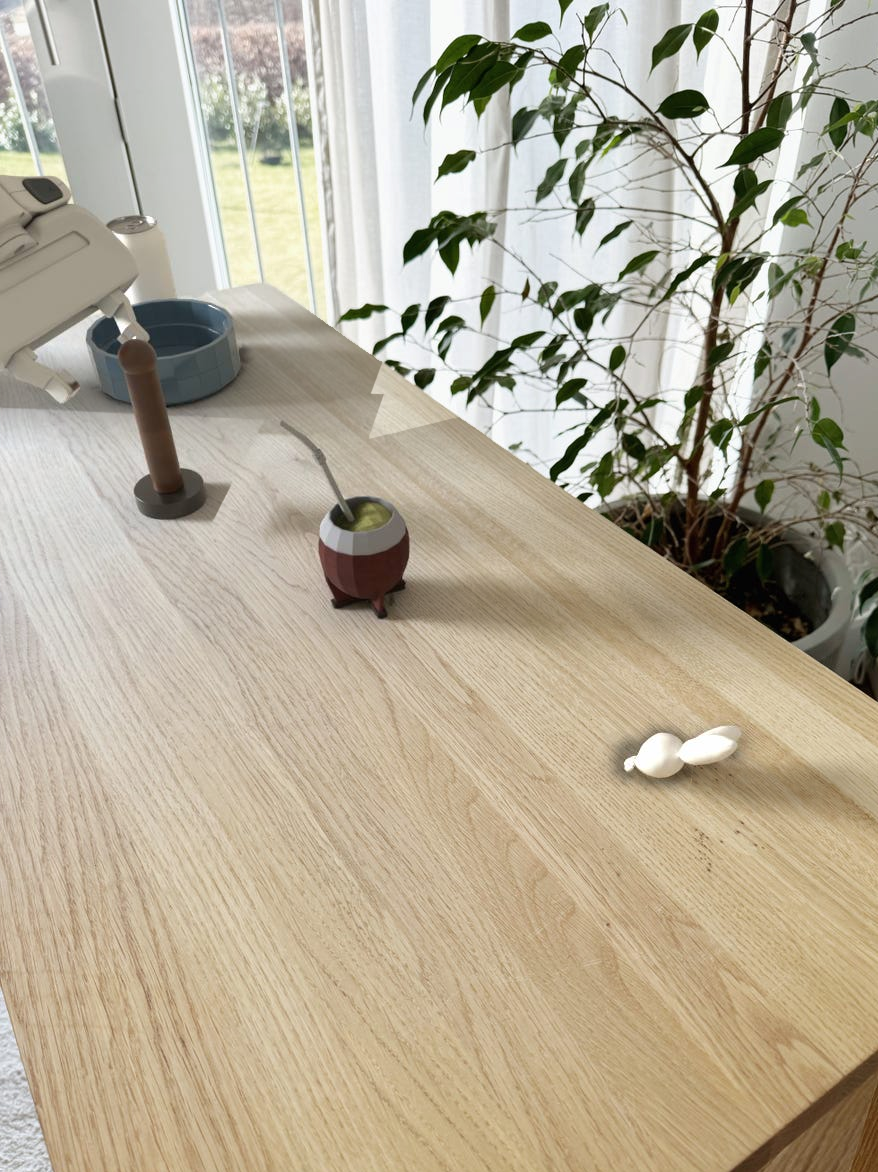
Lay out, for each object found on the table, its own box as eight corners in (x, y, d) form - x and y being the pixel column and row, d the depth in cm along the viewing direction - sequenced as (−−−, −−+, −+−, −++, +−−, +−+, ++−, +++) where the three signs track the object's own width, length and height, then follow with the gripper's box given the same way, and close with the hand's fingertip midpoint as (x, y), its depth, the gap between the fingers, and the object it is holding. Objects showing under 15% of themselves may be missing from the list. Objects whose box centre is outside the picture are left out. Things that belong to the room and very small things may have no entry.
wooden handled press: (131, 531, 88) (81, 355, 77) (155, 493, 93) (111, 322, 82) (197, 535, 88) (156, 359, 77) (218, 497, 92) (182, 326, 81)
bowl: (77, 406, 105) (62, 357, 102) (128, 342, 117) (117, 296, 113) (218, 412, 104) (209, 363, 100) (256, 347, 115) (249, 301, 112)
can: (116, 335, 118) (89, 231, 110) (142, 312, 123) (119, 211, 115) (166, 341, 117) (143, 236, 109) (191, 318, 121) (171, 216, 114)
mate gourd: (425, 608, 80) (418, 444, 70) (332, 636, 78) (310, 470, 68) (391, 558, 85) (379, 397, 75) (302, 583, 83) (277, 420, 73)
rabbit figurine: (626, 735, 70) (739, 705, 67) (644, 788, 70) (757, 761, 67) (608, 754, 64) (729, 723, 62) (626, 812, 64) (749, 783, 62)
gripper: (-116, 257, 70) (39, 408, 74) (71, 170, 84) (193, 300, 88) (-139, 309, 74) (9, 449, 78) (43, 218, 89) (161, 340, 92)
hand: (108, 370), depth 83 cm, fingers open, 8 cm apart
